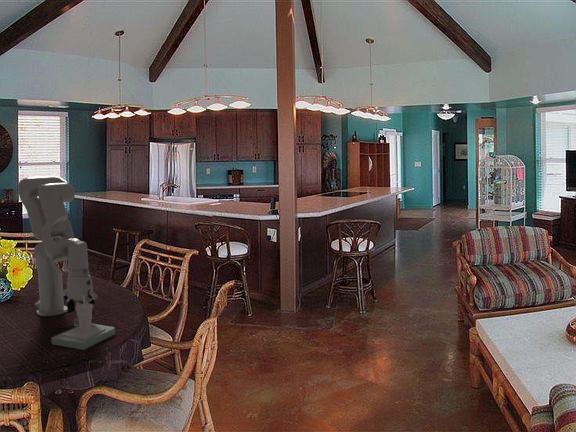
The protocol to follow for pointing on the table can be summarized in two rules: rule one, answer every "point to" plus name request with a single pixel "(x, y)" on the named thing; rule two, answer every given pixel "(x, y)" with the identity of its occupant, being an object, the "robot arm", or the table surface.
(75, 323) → the lever
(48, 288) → the robot arm
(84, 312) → the smoothie
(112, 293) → the table surface
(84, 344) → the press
